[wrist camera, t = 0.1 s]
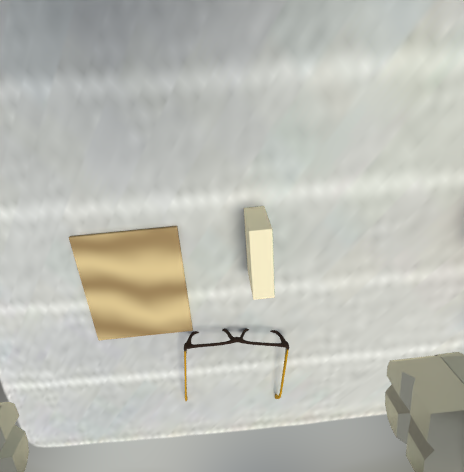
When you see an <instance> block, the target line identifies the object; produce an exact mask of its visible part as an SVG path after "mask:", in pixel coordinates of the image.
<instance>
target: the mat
mask: <svg viewBox="0 0 464 472" xmlns="http://www.w3.org/2000/svg"><path fill="white" fill-rule="evenodd" d="M69 240H70V243H71V247H72V250H73V254H74V257H75V261H76V264H77V268H78V271H79V274H80V278H81V281H82V285H83V288H84V292H85V295H86V298H87V302H88V305H89V309H90V312H91V316H92V319H93V323H94V326H95V329H96V333H97V336H98V340H107V339H117V338H126V337H136V336H146V335H155V334H165V333H174V332H184V331H193V328H192V321H191V315H190V308H189V301H188V295H187V288H186V282H185V275H184V268H183V262H182V255H181V248H180V242H179V235H178V229H177V226H172V227H161V228H151V229H141V230H130V231H120V232H110V233H99V234H89V235H79V236H70V237H69Z"/></svg>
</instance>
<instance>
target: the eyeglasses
mask: <svg viewBox="0 0 464 472" xmlns="http://www.w3.org/2000/svg"><path fill="white" fill-rule="evenodd" d="M248 330H249V329H247V328H246V329H245V330H244V331H243V332H242V334H241V336H240V337H233V336H232V335H231V334H230V332H229V331H228V330H226V329H223V330H222V331H224V332H226V333H227V335H228V337H229V338H230V339H231V340H229V341H226V342H220V343H210V344H197V345H193V344H191V338H192V336H193V335H194V334H196V333H199V332H197V331H195V332H192V333H191V334H190V336H189V338H188V340H187V342H186V343H185V344H184V364H185V401H187V387H186V352H187V349H190V348H197V347H207V346H217V345H225V344H231V343H235V342H240V343H245V344H252V345H265V346H278V347H286V351H285V360H284V367H283V374H282V382H281V389H280V394H279V396H278V395H277V394H275V399H280V397H281V394H282V388H283V382H284V375H285V369H286V363H287V356H288V350H289V344H288V342H287V341H286V340H285V339H284V338H283V336H282V335H281V334H280V333H279V332H278V331H275V330H272V331H270V332H273V333H276V334H277V335H278V336H279V337H280V339H281V343H260V342H250V341H245V340H244V339H243V336H244V334H245V332H246V331H248Z"/></svg>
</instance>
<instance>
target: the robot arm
mask: <svg viewBox="0 0 464 472" xmlns="http://www.w3.org/2000/svg"><path fill="white" fill-rule="evenodd" d="M387 377H388V379H389V380H390V382H391V384H392V385H391V386H390V387H389V388H388V389H387V391H386V392H385V406H386V412H387V417H388V420H389V423H390V425H391V428H392V430H393V432H394V434H395V436H396V437H397V438H398V439H400V440H401V441H403V442H404V443H406V444H407V450H406V456H407V458H408V460H409V462H410V464H411V466H412V468H413V469H414V471H415V472H464V354H462V353H459V352H453V353H445V354H438V355H435V356H425V357H416V358H407V359H399V360H390V362H389V364H388V366H387ZM18 417H19V413H18V411H17V409H16V406H15V404H14V403H11V402H0V472H24V471H25V468H26V465H27V459H28V453H29V447H28V439H27V436H26V433H25V431H24V430H22V429H21V428H19V427H18V426H17V425H15V423H16V421H17V419H18Z"/></svg>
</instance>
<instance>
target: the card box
mask: <svg viewBox="0 0 464 472" xmlns="http://www.w3.org/2000/svg"><path fill="white" fill-rule="evenodd" d="M244 222H245V237H246V252H247V267H248V275H249V280H250V285H251V290H252V295H253V300H255V299H265V298H275V297H274V295H275V289H274V258H273V229H272V227H271V224H270V221H269V218H268V215H267V213H266V210H265V207H264V206H260V207H249V208H244Z"/></svg>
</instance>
